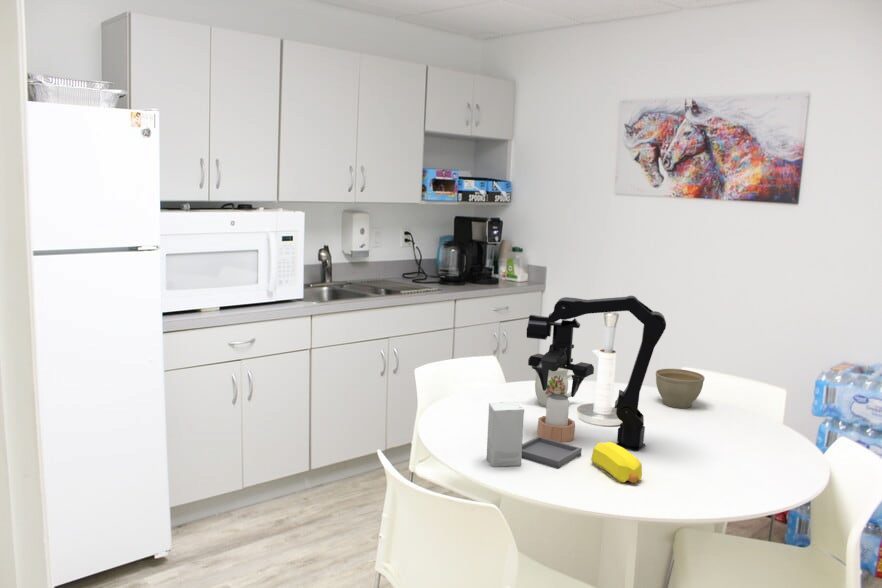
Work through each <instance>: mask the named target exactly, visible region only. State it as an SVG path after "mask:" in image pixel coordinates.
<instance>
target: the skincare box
mask: <svg viewBox="0 0 882 588" xmlns="http://www.w3.org/2000/svg"><path fill="white" fill-rule="evenodd" d="M524 416H525V409H524V408H523V406H521V404H520V403H518V402H517V401H516V402H515V401H513V402H510V401H509V402H488V421H487V438H486V439H487V442H486V459H487V461H488V463H489V462H490V463H489V464H490V465H492V466H495V467H515V466H517V467H519V466H522V459H523V458H522V444H523V437H524V436H523V435H524V434H523V433H524V419H525V418H524ZM492 466H491V467H492Z"/></svg>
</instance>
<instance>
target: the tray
mask: <svg viewBox="0 0 882 588" xmlns="http://www.w3.org/2000/svg"><path fill="white" fill-rule="evenodd" d="M580 456H582V447H578V446H574V445H572V444H568V443H565V442H557V441H554V440H550V439H546V438H543V437H539V436H536V437H534V438H532V439H530V440H528V441H527V440H526V442H524V443H523V442H522V458H521V459H524V460H528V461H530V462H533V463H537V464H540V465H544V466H548V467H550V468H553V469H560V468H561V467H563V466H565V465H566V464H567V465H568V463H570V462H572V461H574V460H575V459H577V458H579V457H580Z"/></svg>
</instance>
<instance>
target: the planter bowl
mask: <svg viewBox="0 0 882 588" xmlns="http://www.w3.org/2000/svg"><path fill="white" fill-rule="evenodd" d="M655 376H656V377H655V383H656V388H657V390H658V394H659V395H660V397H661V398H662V402H663V404H665V405H666V406H668V407H672V408H679V409H685V408H691V407H692V405H693V403H694V402H695V401H697V398H698V397H699V395H700V394H701V393H702V390H703V386H704V381H705V376H704V375H703V374H701V373H699V372H697V371H694V370H689V369H682V368H661V369H657V370H656V371H655Z"/></svg>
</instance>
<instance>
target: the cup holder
mask: <svg viewBox="0 0 882 588" xmlns="http://www.w3.org/2000/svg"><path fill="white" fill-rule="evenodd" d="M537 421H538V422H537V431H536V433H537V435H536V437H538V436H539V437H543V438H546V439H550V440H554V441H557V442H561V443H568V442H567V441H569V442H571V441H573V440H575V431H576V430H575V429H576V421H575V420H573V419H572V418H570V417H568V426H552V425H548V424H545V421H546V415H543V416H541V417H539V418H538V420H537Z"/></svg>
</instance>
